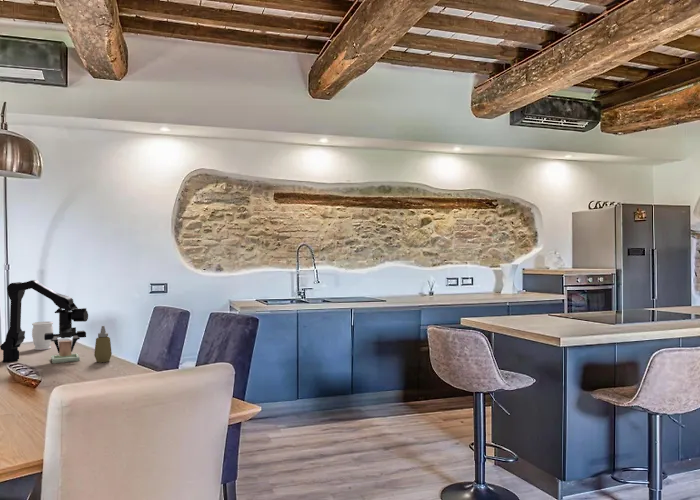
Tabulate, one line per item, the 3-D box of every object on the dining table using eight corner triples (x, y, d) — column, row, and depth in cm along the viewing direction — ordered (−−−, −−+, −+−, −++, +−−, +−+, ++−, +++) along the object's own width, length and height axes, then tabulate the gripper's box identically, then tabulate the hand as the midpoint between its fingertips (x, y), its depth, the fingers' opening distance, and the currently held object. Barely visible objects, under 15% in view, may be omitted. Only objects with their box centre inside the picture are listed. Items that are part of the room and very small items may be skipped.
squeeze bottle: (90, 362, 270) (90, 326, 270) (104, 359, 277) (104, 324, 277) (101, 363, 266) (101, 327, 266) (115, 360, 273) (115, 325, 274)
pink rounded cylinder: (59, 356, 272) (59, 342, 272) (58, 354, 276) (58, 341, 276) (71, 355, 274) (71, 341, 274) (71, 353, 279) (71, 340, 279)
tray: (52, 363, 267) (52, 359, 267) (51, 359, 277) (51, 355, 277) (79, 360, 273) (79, 357, 273) (77, 356, 284) (77, 353, 284)
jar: (46, 350, 301) (46, 323, 301) (27, 350, 301) (28, 323, 301) (56, 347, 312) (56, 321, 312) (39, 347, 312) (39, 321, 312)
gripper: (45, 324, 264) (44, 356, 264) (87, 322, 273) (87, 353, 273) (44, 322, 273) (44, 352, 273) (85, 319, 283) (84, 349, 283)
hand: (65, 352), depth 275 cm, fingers closed on pink rounded cylinder, 6 cm apart
